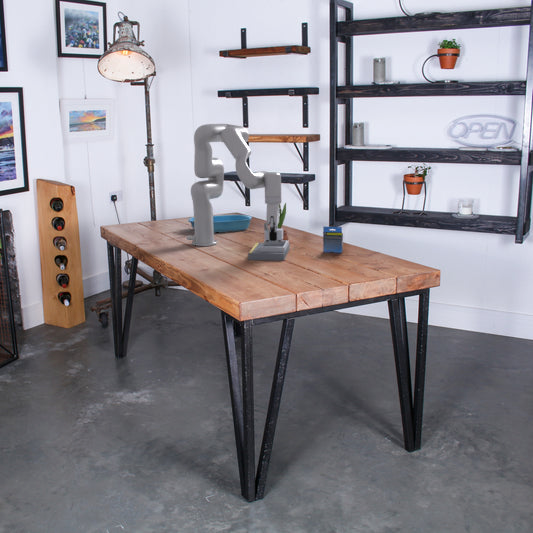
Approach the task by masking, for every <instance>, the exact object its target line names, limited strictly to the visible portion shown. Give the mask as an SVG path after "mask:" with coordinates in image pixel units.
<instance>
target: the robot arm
mask: <svg viewBox="0 0 533 533" xmlns="http://www.w3.org/2000/svg"><path fill="white" fill-rule="evenodd" d="M249 140H250V134H249V131H248V130H247V129H246V127H244V126H242V125H237V124H235V125H234V124H228V123H207V124H203V125H200V126H198V127H197V128H196V130H195V131H194V135H193V144H194V161H193V162H194V164H193V166H194V167H193V169H194V175H195V177H197V178H198V179H205V180H199V181H195V182H194V183H193V184H192V185H191V187H190V197H191V200H192V206H193V217H194V234H193V235H186V240H188V241H192V242H191V245H193V246H195V245H196V246H197V247H209V246H210V247H211V246H215V245H217V244H218V240H217V239H215V237H214V236H215V235H214V234H215V233H214V228H213V216H214V208H213V206H212V203H211V200H213V199H218V198H219V197H221V196H222V194H223V193H224V192H223V191H224V180H225V179H224V178H225V174H224V173H225V168H224V164H223V162H222V161H221V159H219V158H218V157H213V148H212V145H211V143H218V142H219V143H221V142H222V143H223V144H224V146H226V148H227V149H228V151H229V153H230V154H231V155H232V158H234V160H235V171H236V175H237V177H238V178H239V181H241V183H242V185H243V186H244V187H245V188H247V189H248V190H257V189H264V204H265V205H266V220H265V222H266V225H267V226H269V228H270V232H269V235H270V241H276V240H277V232H276V228H278V223H279V216H280V213H279V204H280V205H281V204H282V174H281V173H280V172H277V171H276V172H273V171H271V172H269V171H265V170H263V171H261V170H260V171H253V172H252V170H251V169H250V167H249V166H248V164H247V159H248V158H250V156H251V155H252V154H251V153H252V149H251V148H250V147H249V145H248V144H247V142H248V141H249ZM274 228H275V229H274Z"/></svg>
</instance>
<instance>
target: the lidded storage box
mask: <svg viewBox="0 0 533 533" xmlns="http://www.w3.org/2000/svg"><path fill="white" fill-rule="evenodd" d="M263 226H264V228H263V229H264V230H263V231H264V232H263V233H264V240H266V242H269V241H270V235H269V232H270V227H269V228H268V226H269V225H268V226H267V225H266V221H265V222H264V225H263ZM274 229H275V228H274ZM283 230H284V228H282V227H281V228H276V232H277V240H278V242H281V241H282V239H283Z"/></svg>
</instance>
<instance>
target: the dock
mask: <svg viewBox="0 0 533 533" xmlns="http://www.w3.org/2000/svg"><path fill="white" fill-rule="evenodd" d="M289 251H290V241H289V240H288V241H281V242H278V240H276V241H269V242H266V240H265V239H264V240H263V242H255V244H254V245H253V247H252V248H251V249H250V250H249V252H248V255H247V257H248V261H285V259H286V257H287V255H288V253H289Z"/></svg>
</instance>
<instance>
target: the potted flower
mask: <svg viewBox="0 0 533 533" xmlns="http://www.w3.org/2000/svg"><path fill="white" fill-rule="evenodd" d="M281 207H282V206H281V203H280V204H279V223H278V228H282V226H283V224H284V221H285V218H286V214H287V202H284V205H283V207H282V208H281ZM282 241H289V235H288V231H287V230H285V229H283V239H282Z"/></svg>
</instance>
